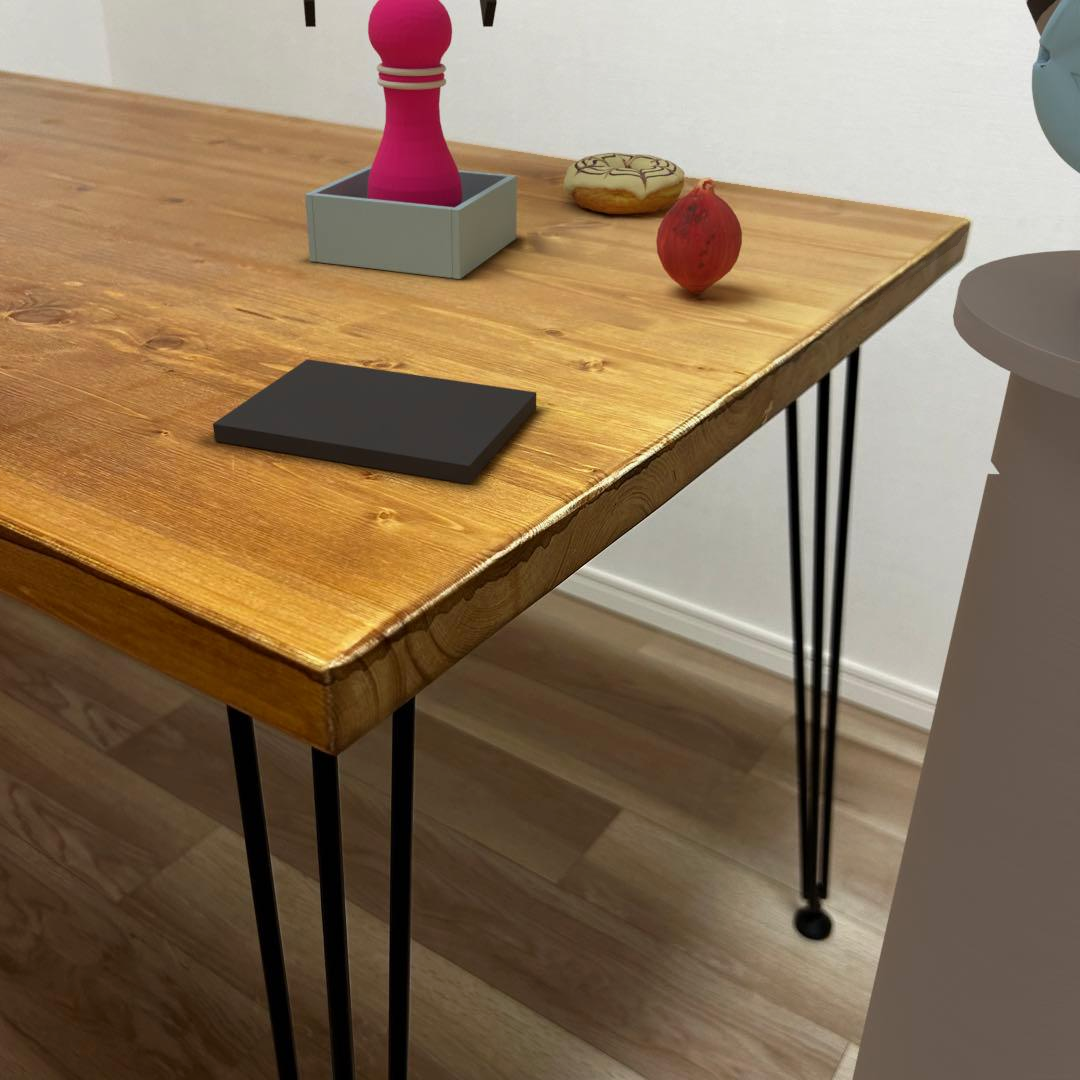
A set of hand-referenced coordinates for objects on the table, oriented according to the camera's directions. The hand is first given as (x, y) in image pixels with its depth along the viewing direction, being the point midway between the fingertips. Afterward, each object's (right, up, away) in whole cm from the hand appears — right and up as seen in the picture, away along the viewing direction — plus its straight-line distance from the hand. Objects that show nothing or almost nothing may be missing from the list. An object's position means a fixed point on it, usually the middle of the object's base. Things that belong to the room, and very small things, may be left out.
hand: (401, 15), depth 90 cm
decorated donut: (+18, -10, +17) cm, 27 cm away
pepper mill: (+1, -17, +3) cm, 18 cm away
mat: (+2, -34, -27) cm, 43 cm away
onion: (+21, -23, -6) cm, 32 cm away
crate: (+1, -17, +3) cm, 17 cm away
